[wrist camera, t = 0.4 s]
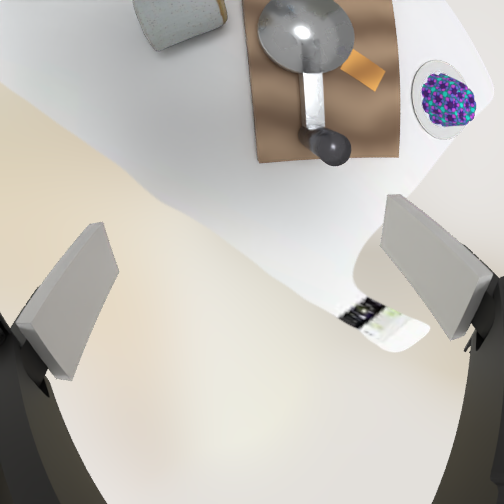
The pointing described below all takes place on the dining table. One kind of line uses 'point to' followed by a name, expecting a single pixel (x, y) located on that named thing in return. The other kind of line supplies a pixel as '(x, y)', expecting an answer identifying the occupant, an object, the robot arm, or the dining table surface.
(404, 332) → the dining table surface
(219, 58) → the dining table surface
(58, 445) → the robot arm
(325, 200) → the dining table surface
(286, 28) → the steel serving spoon
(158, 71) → the dining table surface
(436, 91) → the pudding
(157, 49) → the ceramic mug
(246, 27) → the wooden cutting board
